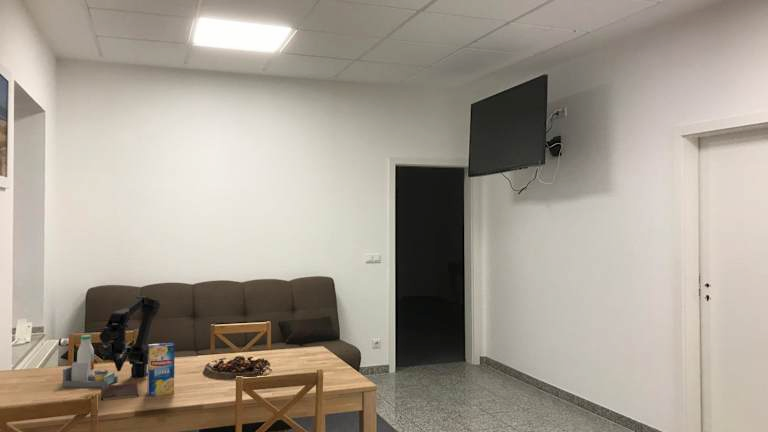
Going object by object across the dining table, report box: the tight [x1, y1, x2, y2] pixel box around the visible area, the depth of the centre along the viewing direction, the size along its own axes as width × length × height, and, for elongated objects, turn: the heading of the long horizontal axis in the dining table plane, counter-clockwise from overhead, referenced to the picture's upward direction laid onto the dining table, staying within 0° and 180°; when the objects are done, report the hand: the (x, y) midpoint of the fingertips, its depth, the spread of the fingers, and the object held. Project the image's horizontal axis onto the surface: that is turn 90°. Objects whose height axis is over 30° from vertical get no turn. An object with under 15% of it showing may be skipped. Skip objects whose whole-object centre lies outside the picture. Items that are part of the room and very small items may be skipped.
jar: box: [94, 369, 109, 381], centre depth 286 cm, size 6×6×6 cm
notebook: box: [101, 382, 139, 401], centre depth 272 cm, size 15×20×2 cm
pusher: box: [104, 371, 115, 385], centre depth 285 cm, size 1×8×4 cm, turn 178°
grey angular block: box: [71, 362, 88, 381], centre depth 286 cm, size 4×7×10 cm, turn 111°
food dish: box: [201, 355, 271, 380], centre depth 312 cm, size 35×33×8 cm
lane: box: [62, 365, 119, 388], centre depth 286 cm, size 21×10×8 cm, turn 88°
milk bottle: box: [76, 334, 95, 376], centre depth 302 cm, size 8×8×20 cm
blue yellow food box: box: [146, 342, 176, 397], centre depth 271 cm, size 7×11×22 cm, turn 117°
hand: (118, 371), depth 285 cm, fingers closed
